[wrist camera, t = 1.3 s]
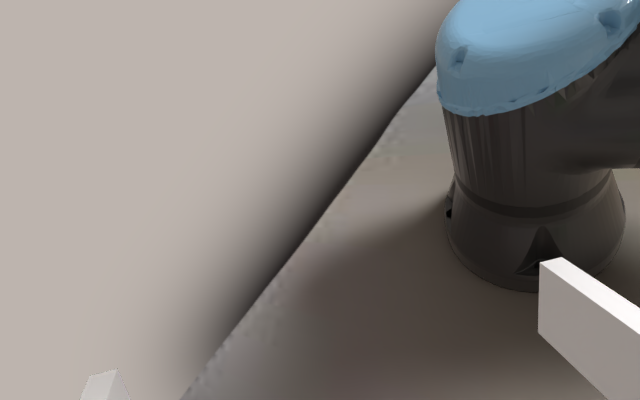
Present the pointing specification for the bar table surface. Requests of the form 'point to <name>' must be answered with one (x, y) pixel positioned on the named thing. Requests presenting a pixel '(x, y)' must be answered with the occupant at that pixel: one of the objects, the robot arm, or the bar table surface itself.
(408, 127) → the bar table surface
